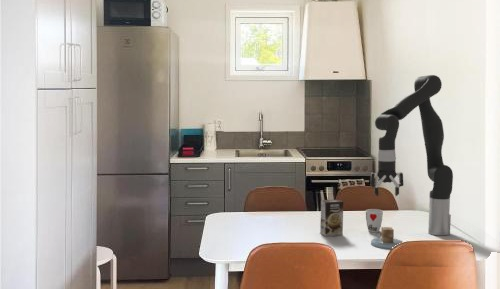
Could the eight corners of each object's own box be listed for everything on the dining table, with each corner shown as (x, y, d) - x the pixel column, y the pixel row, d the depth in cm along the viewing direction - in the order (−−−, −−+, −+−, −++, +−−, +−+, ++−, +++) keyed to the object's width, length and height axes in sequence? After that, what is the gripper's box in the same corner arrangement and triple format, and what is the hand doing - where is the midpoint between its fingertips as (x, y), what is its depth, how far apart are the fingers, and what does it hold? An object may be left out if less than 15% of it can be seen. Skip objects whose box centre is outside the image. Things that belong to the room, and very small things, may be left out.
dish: (400, 240, 255) (400, 237, 254) (406, 249, 241) (406, 246, 241) (368, 240, 255) (368, 237, 255) (373, 248, 241) (373, 245, 241)
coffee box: (325, 236, 262) (325, 202, 260) (319, 233, 268) (320, 199, 267) (343, 235, 264) (343, 201, 263) (337, 231, 271) (337, 198, 269)
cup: (361, 230, 273) (362, 210, 272) (372, 228, 278) (372, 208, 277) (375, 234, 266) (375, 213, 265) (385, 231, 272) (386, 210, 271)
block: (391, 240, 250) (391, 227, 249) (393, 243, 246) (393, 229, 245) (381, 240, 250) (381, 227, 250) (382, 243, 246) (383, 229, 245)
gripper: (401, 158, 252) (400, 194, 253) (369, 158, 252) (369, 194, 254) (405, 160, 244) (404, 197, 246) (372, 161, 245) (372, 197, 246)
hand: (386, 195), depth 250 cm, fingers open, 8 cm apart
